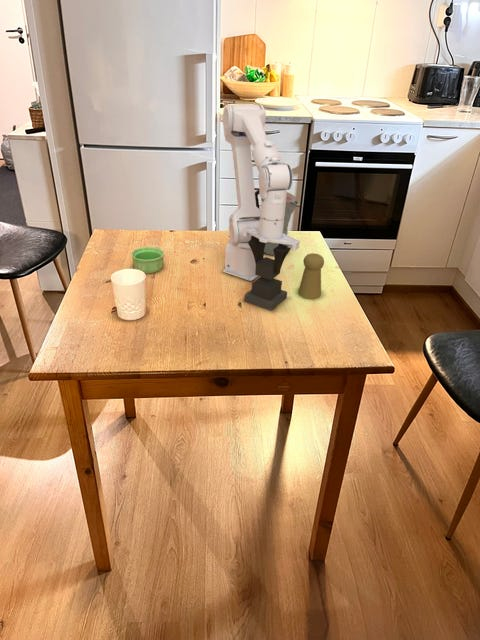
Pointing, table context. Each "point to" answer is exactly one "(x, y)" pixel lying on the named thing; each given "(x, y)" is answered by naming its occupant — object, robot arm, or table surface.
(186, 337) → the table surface
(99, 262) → the table surface
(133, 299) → the white cup
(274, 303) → the base pad
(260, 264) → the top pad
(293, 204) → the moka pot
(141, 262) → the ramekin
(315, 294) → the olive game pawn
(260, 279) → the middle pad
